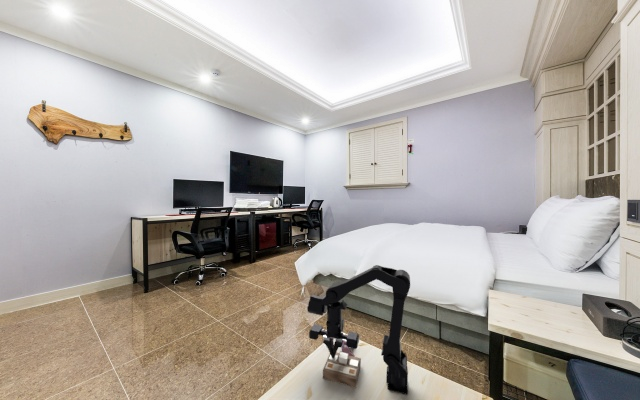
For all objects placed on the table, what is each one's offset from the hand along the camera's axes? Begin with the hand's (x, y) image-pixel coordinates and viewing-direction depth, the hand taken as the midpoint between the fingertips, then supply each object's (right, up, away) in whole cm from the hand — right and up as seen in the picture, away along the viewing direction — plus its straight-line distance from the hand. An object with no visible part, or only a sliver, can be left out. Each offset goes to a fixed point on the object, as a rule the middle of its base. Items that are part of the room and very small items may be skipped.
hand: (333, 357), depth 87 cm
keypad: (+3, -3, -3) cm, 5 cm away
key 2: (+7, -3, -2) cm, 8 cm away
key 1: (0, -3, 0) cm, 3 cm away
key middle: (+4, -1, -1) cm, 4 cm away
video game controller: (+6, -3, +7) cm, 10 cm away
